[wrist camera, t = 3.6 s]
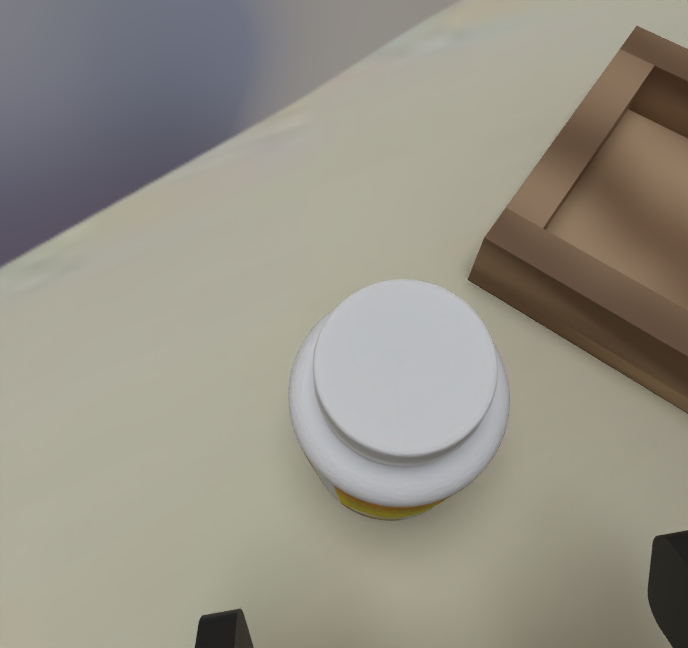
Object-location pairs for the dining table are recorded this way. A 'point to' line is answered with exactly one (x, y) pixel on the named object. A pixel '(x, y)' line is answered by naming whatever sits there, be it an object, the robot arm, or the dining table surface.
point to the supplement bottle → (398, 398)
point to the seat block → (609, 223)
